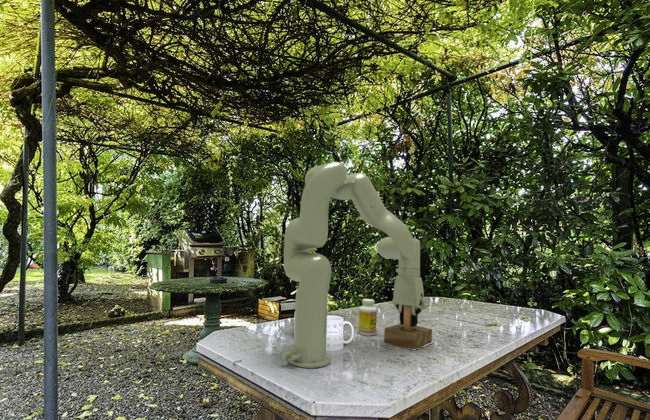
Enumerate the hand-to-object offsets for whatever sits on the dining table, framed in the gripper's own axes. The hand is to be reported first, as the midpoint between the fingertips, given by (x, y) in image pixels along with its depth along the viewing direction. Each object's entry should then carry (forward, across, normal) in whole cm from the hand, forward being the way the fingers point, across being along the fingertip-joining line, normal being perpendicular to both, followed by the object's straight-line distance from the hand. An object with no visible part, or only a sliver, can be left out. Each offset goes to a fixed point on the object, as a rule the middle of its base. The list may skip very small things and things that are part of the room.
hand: (408, 324), depth 130 cm
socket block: (+6, 0, 0) cm, 6 cm away
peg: (+4, 0, 0) cm, 4 cm away
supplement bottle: (+7, -17, -1) cm, 18 cm away
